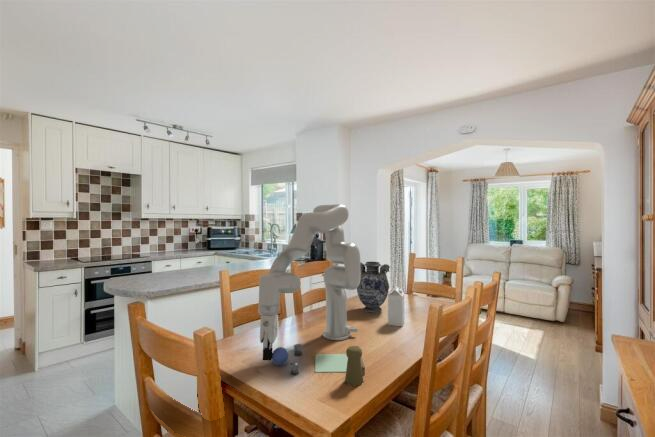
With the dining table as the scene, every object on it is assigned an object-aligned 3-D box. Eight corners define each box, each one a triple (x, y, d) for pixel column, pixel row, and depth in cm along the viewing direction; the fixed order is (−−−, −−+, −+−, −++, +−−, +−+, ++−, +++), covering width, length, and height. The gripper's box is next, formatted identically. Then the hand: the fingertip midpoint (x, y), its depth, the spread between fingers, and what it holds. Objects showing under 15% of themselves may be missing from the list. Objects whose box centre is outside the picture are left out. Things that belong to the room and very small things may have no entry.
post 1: (302, 352, 123) (302, 343, 123) (301, 356, 120) (301, 347, 120) (294, 352, 123) (294, 344, 123) (293, 356, 120) (293, 347, 120)
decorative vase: (348, 310, 179) (348, 262, 179) (363, 304, 194) (364, 259, 194) (382, 317, 167) (383, 265, 167) (395, 309, 182) (396, 262, 182)
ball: (277, 362, 116) (291, 354, 116) (275, 371, 110) (290, 363, 110) (269, 348, 116) (284, 341, 116) (268, 357, 110) (283, 349, 110)
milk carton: (387, 325, 155) (387, 287, 155) (390, 320, 161) (390, 284, 161) (402, 327, 152) (402, 288, 152) (404, 322, 158) (404, 285, 159)
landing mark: (351, 354, 121) (351, 353, 121) (355, 371, 107) (355, 371, 107) (315, 354, 121) (315, 354, 121) (314, 372, 107) (314, 371, 107)
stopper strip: (358, 352, 123) (358, 345, 123) (364, 374, 105) (364, 367, 105) (353, 352, 123) (353, 345, 123) (358, 374, 105) (358, 367, 105)
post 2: (299, 371, 108) (299, 361, 108) (298, 375, 105) (298, 365, 105) (290, 371, 108) (290, 361, 108) (289, 375, 105) (289, 365, 105)
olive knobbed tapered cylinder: (343, 376, 104) (343, 344, 104) (361, 376, 104) (361, 343, 104) (346, 386, 98) (346, 351, 98) (365, 385, 98) (365, 350, 98)
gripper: (275, 314, 106) (274, 369, 105) (282, 304, 121) (280, 351, 120) (253, 314, 106) (252, 368, 105) (262, 303, 121) (261, 351, 120)
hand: (267, 359), depth 113 cm, fingers closed
